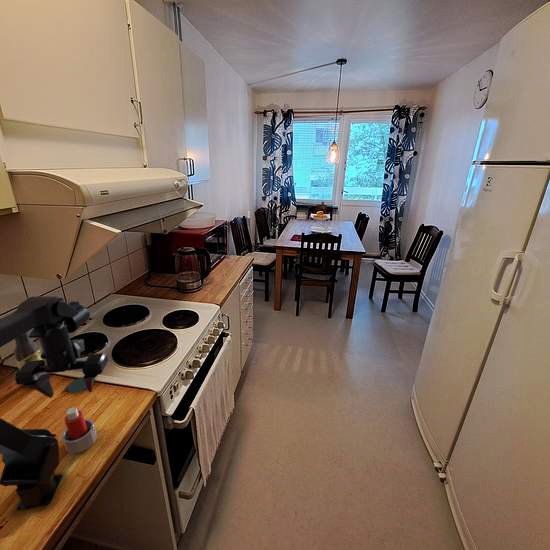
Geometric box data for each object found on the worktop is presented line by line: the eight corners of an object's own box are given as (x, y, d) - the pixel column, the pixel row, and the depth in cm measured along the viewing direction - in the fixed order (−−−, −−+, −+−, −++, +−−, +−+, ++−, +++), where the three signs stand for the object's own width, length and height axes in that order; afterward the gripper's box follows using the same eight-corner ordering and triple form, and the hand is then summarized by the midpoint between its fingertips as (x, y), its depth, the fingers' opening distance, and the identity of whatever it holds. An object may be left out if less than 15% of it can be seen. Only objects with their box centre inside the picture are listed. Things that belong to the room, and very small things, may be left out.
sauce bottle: (35, 389, 93) (15, 338, 86) (19, 386, 95) (-1, 336, 87) (53, 375, 99) (36, 327, 92) (38, 373, 101) (20, 324, 93)
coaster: (87, 391, 93) (87, 390, 93) (63, 394, 92) (63, 393, 91) (95, 376, 99) (95, 375, 99) (72, 379, 98) (72, 378, 98)
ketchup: (86, 446, 75) (76, 415, 71) (70, 449, 74) (59, 418, 70) (92, 433, 78) (82, 403, 74) (76, 436, 78) (66, 405, 74)
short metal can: (91, 452, 74) (87, 439, 72) (61, 457, 73) (56, 444, 71) (101, 428, 80) (97, 417, 79) (73, 433, 79) (68, 421, 77)
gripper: (108, 323, 79) (118, 369, 84) (30, 330, 75) (46, 378, 80) (94, 346, 69) (107, 397, 74) (3, 356, 65) (23, 408, 70)
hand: (71, 393), depth 75 cm, fingers open, 9 cm apart
